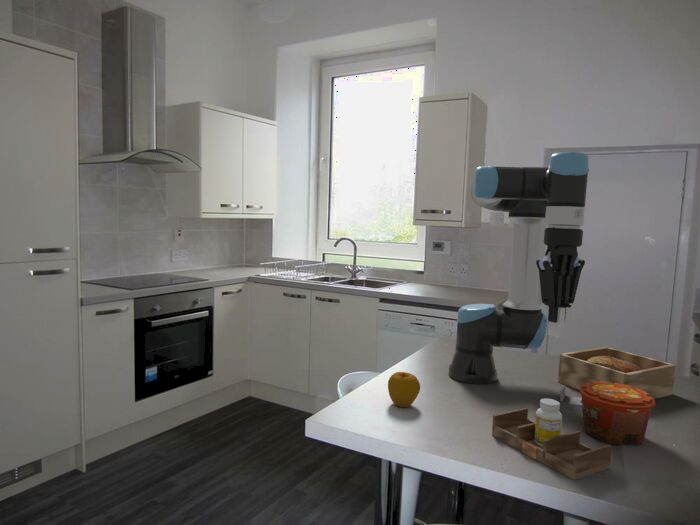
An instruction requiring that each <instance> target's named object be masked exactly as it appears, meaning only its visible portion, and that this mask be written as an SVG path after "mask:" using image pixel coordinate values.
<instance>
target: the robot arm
mask: <svg viewBox="0 0 700 525" xmlns="http://www.w3.org/2000/svg"><path fill="white" fill-rule="evenodd" d="M548 164H549V165H548V167H546V166H545V167H544V166H534V167H533V166H493V165H488V166H487V165H486V166H478V167H476V168H475V172H474V182H473V183H472V185H471V187H470V196H471V199H472V200H473V202H474V203H475V204H476V205H477V206H479V207H480V208H483V209H486V210H489V211H494V212H501V213H508V218H507V219H509V220H510V221H511V222H512V237H511V238H512V239H511V253H510V266H509V267H510V268H509V284H508V295H507V296H508V299H507V300H505V302H503V303H502V308H501V309H497V307H496V305H495V304H492V303H491V304H490V303H472V304H465V305H463V306H461V307H459V308H458V310H457V318H456V336H455V351H454V354H453V357H452V360H451V363H450V364H449V367H448V376H450V378H452V379H454V380H457V381H458V382H463V383H468V384H475V385H476V384H478V385H480V384H481V385H482V384H483V385H486V384H493V383H495V382H496V381H497V379H498V371H497V369H496V363H495V360H494V347H499V348H511V349H522V350H524V351H525V350H537V349H539V348H541V347H542V345H543V342H544V340H545V337H546V334H547V336H548V337H552V338H556V339H561V338H562V339H563V338H564V330H565V328H564V327H565V320H566V315H567V308H569V309H570V308H571V307H572V304H574V303H575V299H576V294H577V290H578V286H579V282H580V278H581V274H582V270H583V269H584V266H585V265H586V260H584V259H580V258H579V257H578V256H579V252H578V248H579V247H581V246H582V245H583V238H584V237H583V235H584V231H583V229H582V228H581V227H583V226H584V221H585V220H584V219H585V207H586V198H587V187H588V176H589V172H590V169H589V156H588V155H587V154H586V153H584V152H577V151H564V152H556V153H553V154H552V155H551V156H550V159H549V163H548ZM544 224H545V225H546V226H547V227H545V228H544V233H543V225H544ZM542 237H543V238H542ZM542 239H543V244H544V245H546V247H547V248H546V249H545V250H546V251H545V254H544V257H543V258H542V259H541V250H542ZM539 284H540V285H539ZM539 286H540V295H541V296H540V298H541V303H542V304H544V305H545V306H547V307H548V316H547V314H546V313H545V312H543V311H542V309H543V307H542V306H541V304H540V303H539V302H538V297H539V296H538V295H539V294H538V292H539ZM547 322H548V323H547ZM547 327H548V328H547ZM547 329H548V330H547Z"/></svg>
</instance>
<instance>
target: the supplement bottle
mask: <svg viewBox="0 0 700 525" xmlns="http://www.w3.org/2000/svg"><path fill="white" fill-rule="evenodd" d="M539 406H540V408H538V409H537V410H536V412H535V437H534V441H535V443H536V444H537V445H539V446H541V447H543V444H544V440H546V439H550V438H554V437H557V436H561V434H562V427H563V426H562V424H563V414H562V413H561V412H560V408H561V403H560V402H559V401H558V400H556V399H552V398H541V399H540V401H539Z"/></svg>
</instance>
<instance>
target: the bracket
mask: <svg viewBox="0 0 700 525" xmlns="http://www.w3.org/2000/svg"><path fill="white" fill-rule="evenodd" d="M559 394H560V395H559V396H560V399H559V400H560V402H561V403H562V402H563V400H564V399H565V397H566V394H567V393H566V385H564V384H563V386H562V387H561V389H560V390H559ZM560 402H559V403H560ZM568 404H570V405H574V406H578V407H582V397H576V396H572V397H571V398H570V400H569V402H568Z"/></svg>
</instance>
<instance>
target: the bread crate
mask: <svg viewBox="0 0 700 525" xmlns="http://www.w3.org/2000/svg"><path fill="white" fill-rule="evenodd" d="M593 356H610V357H614V358H617V359H620V360H623V361H627V362H630V363H633V364H635V365H637V366H639V367H640V368H641V369H642V370H640V371H635V372H630V373H624V372H620V371H617V370H614V369H610V368H607V367H604V366H600V365H597V364H594V363H590V362H587V360H588V359H589V358H591V357H593ZM558 363H559V364H558V374H557V376H558V377H557V382H558V383H559V384H561V385H563V386H564V385H565V386H567V387H570V388H573V389H575V390H578V391H579V388H580V387H581V386H583V384H585V383H591V382H594V381H603V382H607V383H611V384H614V383H619V384H624V385H628V386H631V387H632V388H634V389H640V390H643V391H645V392H647V393H648V394H649V395H650V397H652V398H653V399H654V400H657V399H660V398H664V397H665V398H666V397H668V396H672V395H673V394H674V385H675V376H676V375H675V374H676V364H672V363H670V362H666V361H663V360H658V359H655V358H651V357H646V356H643V355H639V354H635V353H631V352H628V351H623V350H620V349H616V348H612V347H606V346H603V347H597V348H591V349H583V350H577V351H571V352H563V353H560V354H559V362H558Z"/></svg>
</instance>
